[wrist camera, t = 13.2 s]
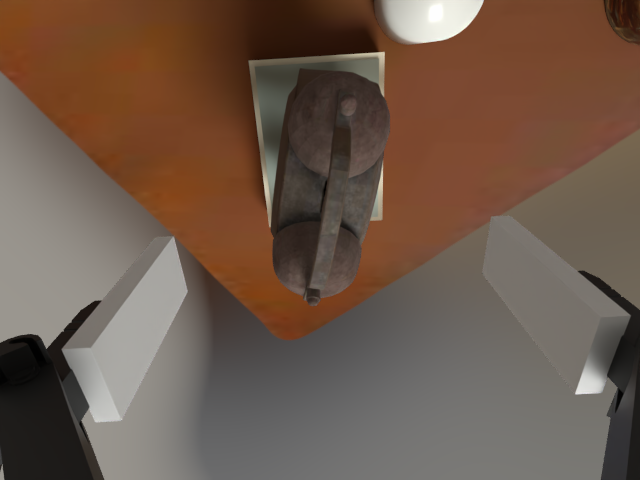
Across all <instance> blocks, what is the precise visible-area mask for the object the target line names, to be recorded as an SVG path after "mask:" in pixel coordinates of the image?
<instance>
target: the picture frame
mask: <svg viewBox="0 0 640 480" xmlns="http://www.w3.org/2000/svg"><path fill="white" fill-rule="evenodd" d="M384 55H385V52H377V53H361V54H346V55H330V56H314V57H298V58H283V59H267V60H251V61H249V69H250V77H251V85H252V93H253V101H254V109H255V117H256V125H257V133H258V141H259V149H260V157H261V165H262V173H263V181H264V189H265V197H266V205H267V213H268V221H269V227H271V214H272V203H273V194H274V185H275V177H276V169H277V161H278V154H279V147H280V139H281V133H282V127H283V120H284V114H285V109H286V103H287V99H288V95H289V94H290V92H291V91H292V90H293V88H294V87H295V86H296V85H297V79H298V74H299V70H300V68H303V69H313V70H330V71H346V72H353V73H356V74H358V75H360V76H363V77H365V78H367V79H368V80H370V81H373V82H376V83H377V84H378V85H379V87H380V90H381V94H382V95H383V97H384ZM382 198H383V163H382V170H381V176H380V181H379V186H378V190H377V195H376V199H375V203H374V207H373V211H372V215H371V219H370V221H374V220H382Z"/></svg>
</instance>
